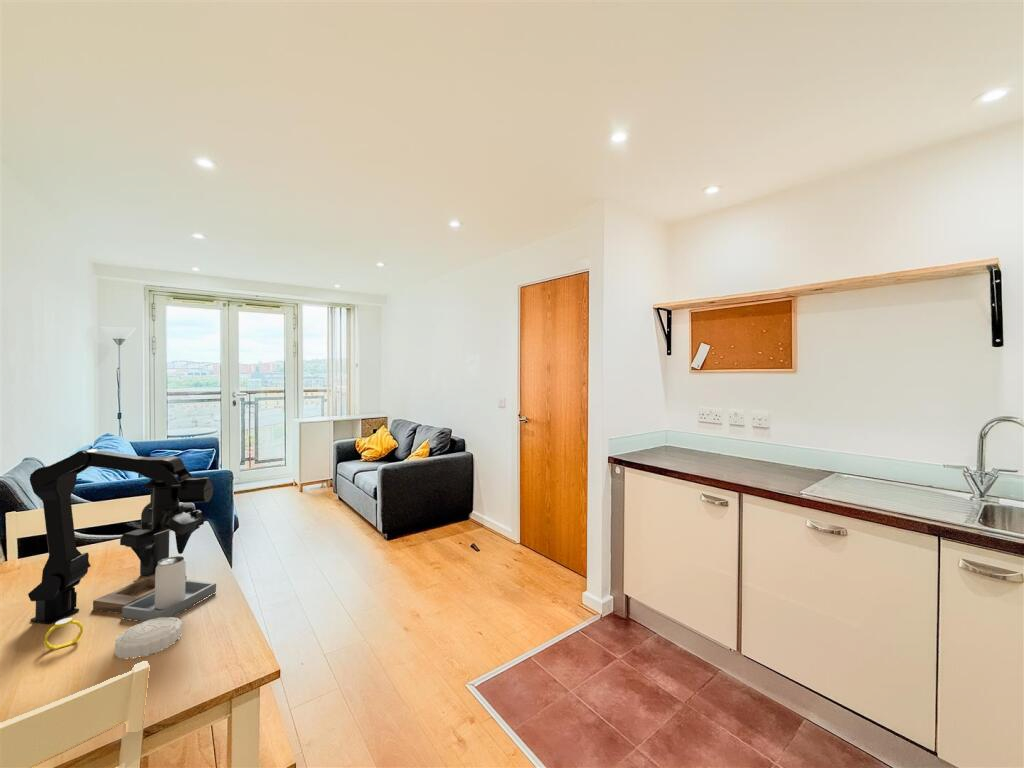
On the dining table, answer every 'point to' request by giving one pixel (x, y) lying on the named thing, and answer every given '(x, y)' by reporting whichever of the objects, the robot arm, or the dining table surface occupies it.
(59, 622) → the watch
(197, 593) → the tray
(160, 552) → the wine bottle
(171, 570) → the can
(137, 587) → the holder
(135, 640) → the mooncake
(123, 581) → the dining table surface
